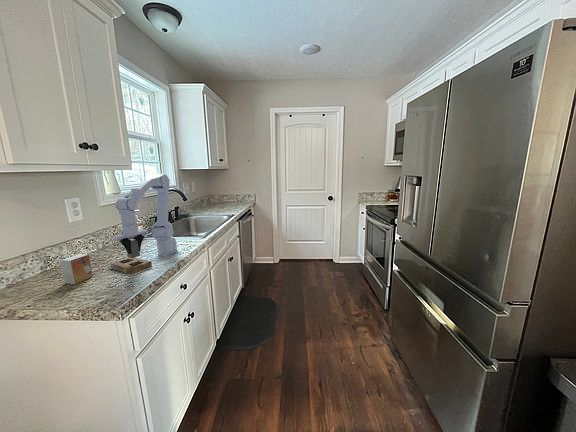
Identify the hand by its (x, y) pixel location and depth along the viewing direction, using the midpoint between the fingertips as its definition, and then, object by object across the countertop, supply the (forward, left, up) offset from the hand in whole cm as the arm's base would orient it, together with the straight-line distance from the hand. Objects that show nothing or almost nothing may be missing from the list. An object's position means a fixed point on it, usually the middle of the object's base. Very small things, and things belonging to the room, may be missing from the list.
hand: (134, 252), depth 113 cm
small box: (+17, -13, -9) cm, 23 cm away
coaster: (-8, -16, -9) cm, 20 cm away
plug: (0, -1, -2) cm, 2 cm away
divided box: (0, -4, -9) cm, 9 cm away
